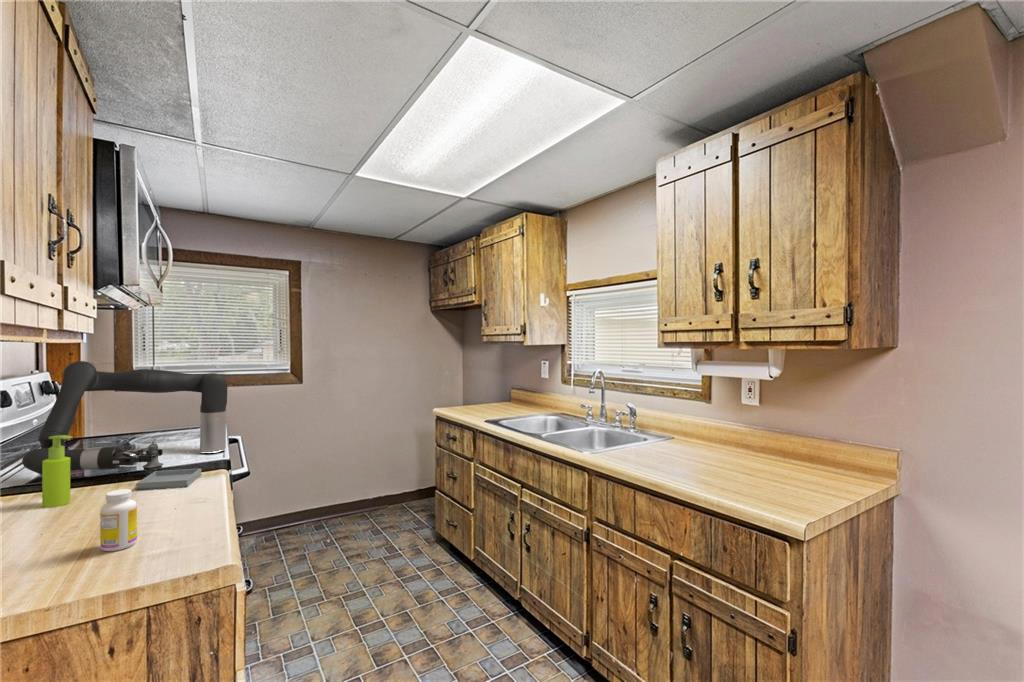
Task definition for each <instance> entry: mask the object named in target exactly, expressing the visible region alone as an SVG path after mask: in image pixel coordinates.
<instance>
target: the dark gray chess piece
mask: <svg viewBox="0 0 1024 682" xmlns="http://www.w3.org/2000/svg"><path fill="white" fill-rule="evenodd" d="M147 448H148V454H147V455H152V461H151V462H146V464H144V465H143V466H142V468H143V471H144V470H157V469H160V468H161V469H162V468H163V466H164V463H161V462H159V456H158V455H159V453H158V449H159V445H158V444H156V443H155V441H152V442H151V443H150V444H149V445H148V446H147Z"/></svg>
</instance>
